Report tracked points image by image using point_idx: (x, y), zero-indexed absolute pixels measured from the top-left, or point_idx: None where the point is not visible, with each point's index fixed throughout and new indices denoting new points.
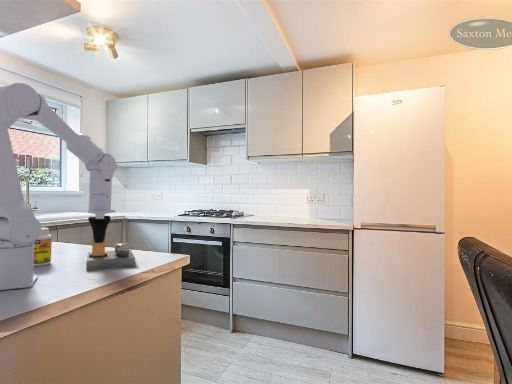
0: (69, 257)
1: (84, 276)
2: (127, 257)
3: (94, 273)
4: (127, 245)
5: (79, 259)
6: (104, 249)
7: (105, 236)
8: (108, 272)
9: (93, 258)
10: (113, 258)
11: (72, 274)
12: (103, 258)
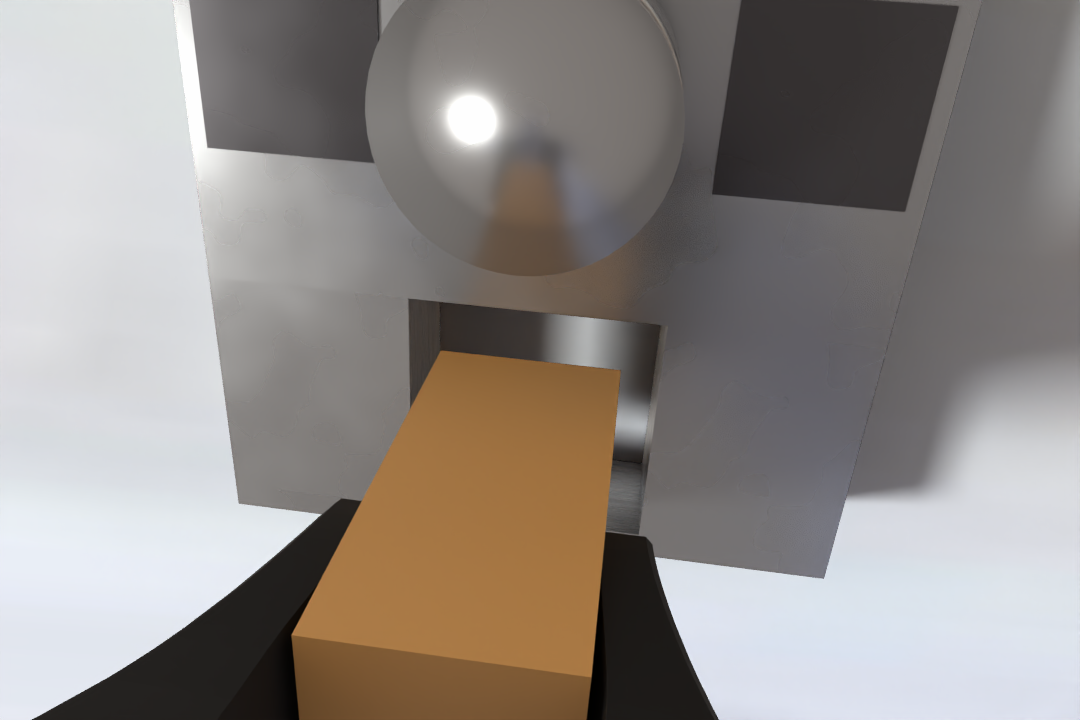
0: (64, 570)
1: (1068, 540)
2: (930, 34)
3: (1004, 446)
4: (651, 18)
5: (192, 502)
6: (614, 422)
7: (597, 574)
8: (1073, 306)
9: (696, 497)
10: (855, 266)
11: (894, 615)
12: (765, 390)
